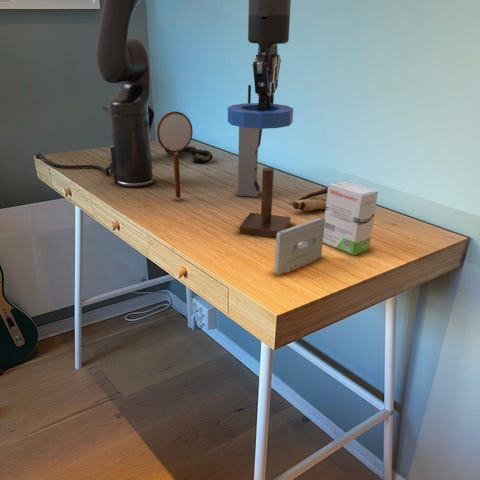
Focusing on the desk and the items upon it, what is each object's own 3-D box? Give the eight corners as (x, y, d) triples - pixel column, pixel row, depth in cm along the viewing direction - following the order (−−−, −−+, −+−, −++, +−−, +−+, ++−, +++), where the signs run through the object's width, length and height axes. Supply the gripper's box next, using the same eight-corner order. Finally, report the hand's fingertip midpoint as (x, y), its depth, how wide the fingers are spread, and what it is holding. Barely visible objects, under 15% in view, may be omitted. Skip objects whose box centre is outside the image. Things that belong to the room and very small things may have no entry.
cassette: (279, 276, 85) (282, 235, 81) (271, 272, 86) (274, 231, 82) (323, 257, 92) (328, 218, 88) (315, 254, 93) (320, 215, 89)
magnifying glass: (163, 204, 116) (157, 113, 105) (160, 202, 117) (154, 112, 106) (195, 198, 120) (193, 110, 109) (192, 196, 121) (189, 109, 110)
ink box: (369, 249, 96) (380, 190, 90) (353, 256, 93) (362, 195, 87) (336, 236, 101) (344, 179, 95) (320, 241, 99) (326, 183, 93)
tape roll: (220, 126, 91) (220, 111, 89) (238, 115, 101) (238, 101, 99) (284, 130, 88) (285, 114, 87) (296, 119, 98) (297, 104, 97)
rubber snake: (215, 145, 146) (184, 151, 142) (216, 161, 148) (186, 167, 144) (189, 135, 159) (160, 141, 155) (191, 150, 162) (163, 156, 158)
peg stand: (239, 233, 102) (240, 172, 95) (250, 218, 109) (251, 161, 102) (282, 238, 100) (286, 177, 93) (290, 223, 107) (294, 165, 100)
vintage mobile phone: (257, 197, 121) (261, 86, 108) (237, 196, 122) (239, 85, 109) (260, 193, 125) (264, 84, 111) (240, 191, 125) (242, 83, 112)
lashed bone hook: (334, 196, 125) (276, 206, 116) (336, 177, 122) (278, 186, 114) (360, 206, 118) (301, 217, 109) (363, 186, 116) (303, 196, 107)
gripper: (258, 13, 95) (255, 109, 104) (239, 12, 84) (238, 120, 93) (296, 13, 94) (290, 111, 103) (282, 12, 82) (277, 122, 91)
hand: (265, 115), depth 98 cm, fingers closed on tape roll, 2 cm apart
